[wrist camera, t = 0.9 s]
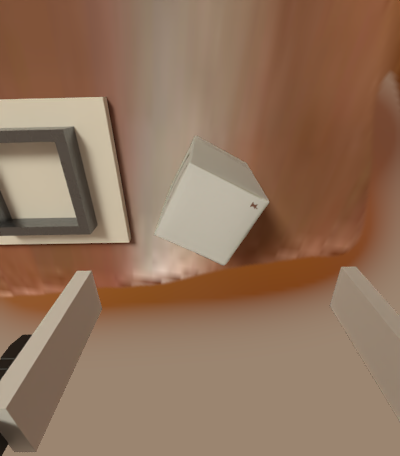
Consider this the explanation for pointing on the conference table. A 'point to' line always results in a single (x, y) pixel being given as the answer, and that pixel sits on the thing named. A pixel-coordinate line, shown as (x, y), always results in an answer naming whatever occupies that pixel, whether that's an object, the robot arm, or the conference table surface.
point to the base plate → (53, 173)
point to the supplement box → (211, 203)
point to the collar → (75, 179)
